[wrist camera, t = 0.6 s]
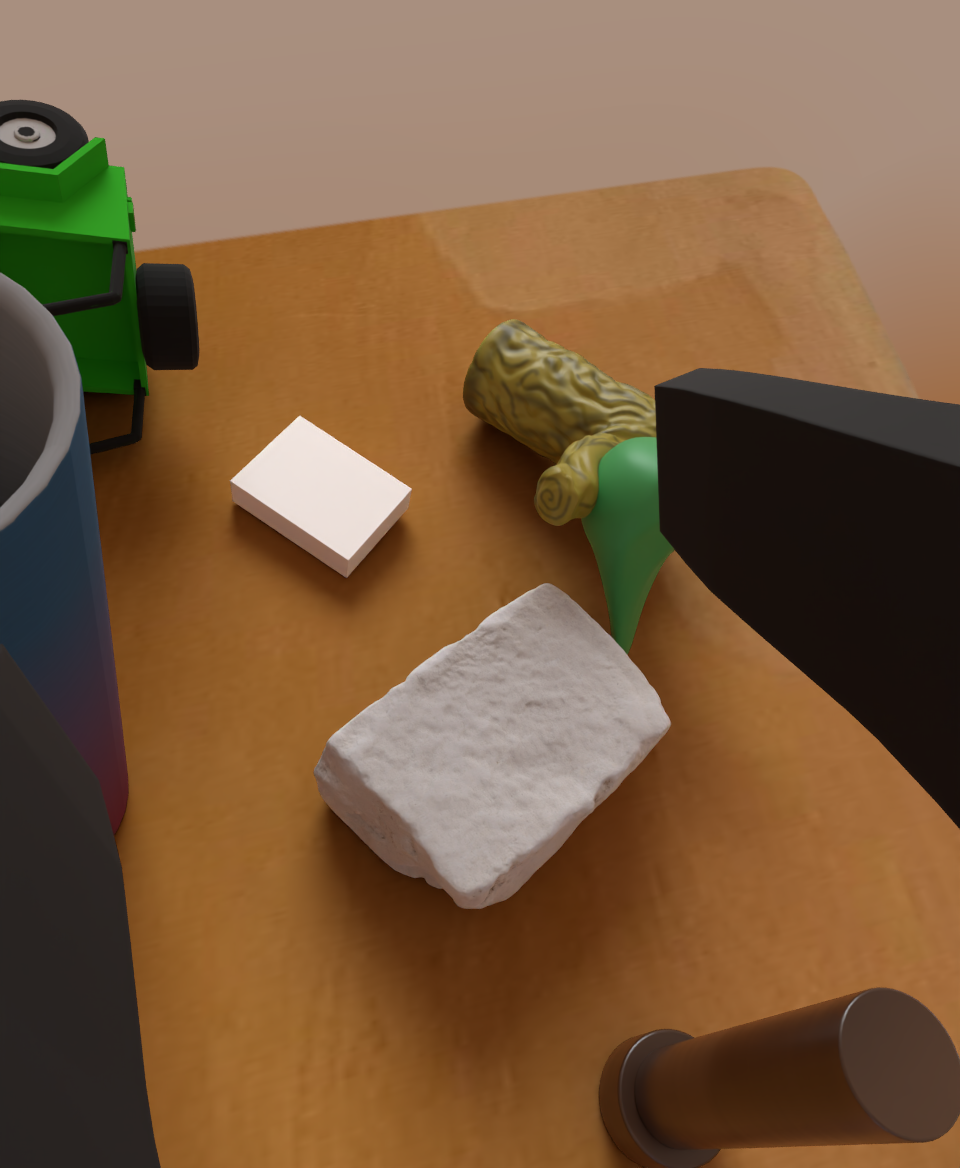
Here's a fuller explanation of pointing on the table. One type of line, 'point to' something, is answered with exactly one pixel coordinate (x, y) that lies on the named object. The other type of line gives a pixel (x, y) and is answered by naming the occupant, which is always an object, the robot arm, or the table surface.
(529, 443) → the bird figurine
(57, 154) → the toy car
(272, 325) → the table surface
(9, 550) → the cup
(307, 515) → the eraser
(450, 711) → the white stone block
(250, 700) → the table surface
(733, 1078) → the dark brown cylinder
